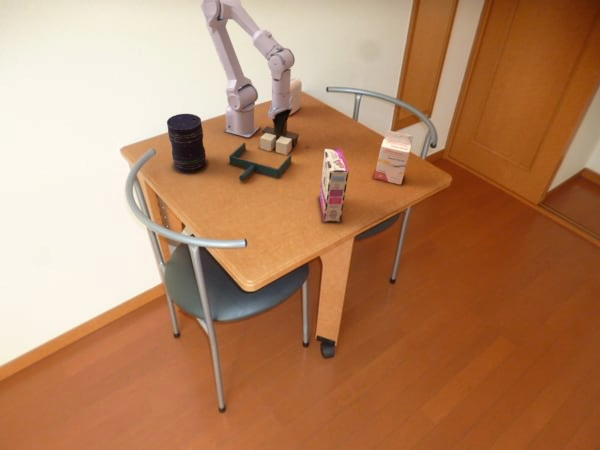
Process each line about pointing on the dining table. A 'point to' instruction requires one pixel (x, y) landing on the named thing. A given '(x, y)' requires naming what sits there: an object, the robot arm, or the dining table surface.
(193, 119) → the storage jar
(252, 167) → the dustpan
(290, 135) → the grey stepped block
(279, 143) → the cream white cube
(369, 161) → the dining table surface
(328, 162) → the candy bar box
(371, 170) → the dining table surface
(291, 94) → the photo printer
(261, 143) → the beige cube
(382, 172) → the ink cartridge box
